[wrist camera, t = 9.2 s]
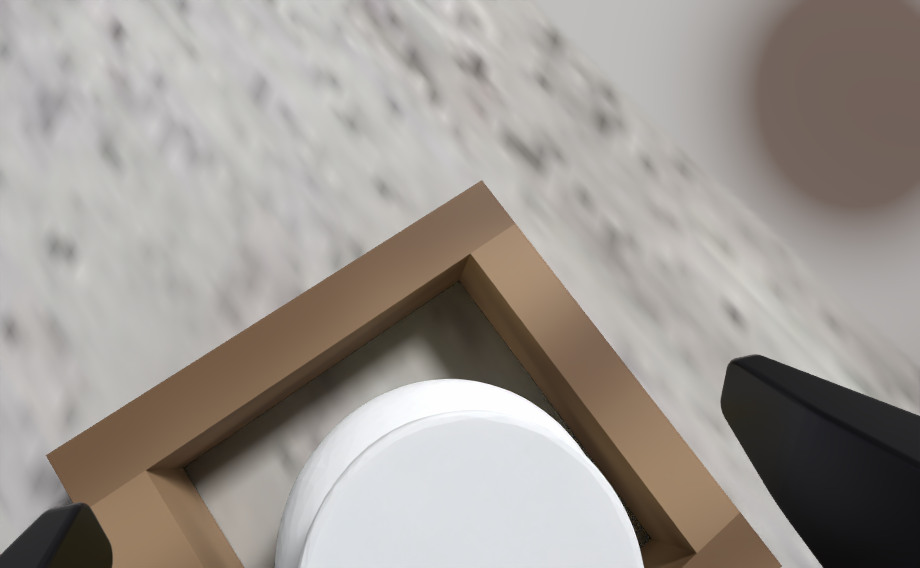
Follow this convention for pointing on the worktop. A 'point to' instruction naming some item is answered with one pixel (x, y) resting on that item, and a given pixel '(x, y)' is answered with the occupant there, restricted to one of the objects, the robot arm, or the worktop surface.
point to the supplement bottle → (453, 489)
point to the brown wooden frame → (349, 328)
